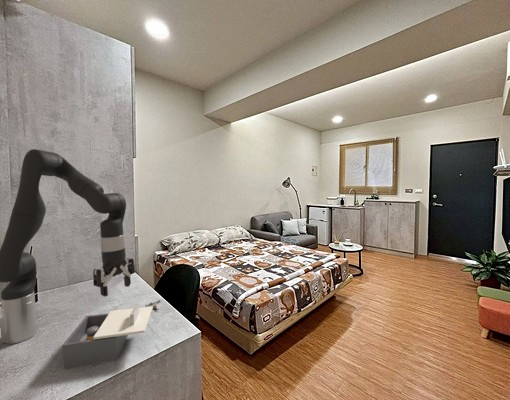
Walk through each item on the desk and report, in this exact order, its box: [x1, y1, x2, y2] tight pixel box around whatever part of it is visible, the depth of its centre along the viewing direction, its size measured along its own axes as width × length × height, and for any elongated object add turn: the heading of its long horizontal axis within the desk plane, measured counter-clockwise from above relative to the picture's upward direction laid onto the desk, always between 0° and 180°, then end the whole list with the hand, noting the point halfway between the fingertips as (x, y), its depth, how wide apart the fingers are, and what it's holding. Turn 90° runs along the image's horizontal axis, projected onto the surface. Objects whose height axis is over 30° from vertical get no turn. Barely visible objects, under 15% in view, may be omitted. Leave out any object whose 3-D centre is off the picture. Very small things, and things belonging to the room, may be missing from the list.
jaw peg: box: [87, 326, 99, 340], centre depth 89 cm, size 4×4×7 cm
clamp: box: [144, 299, 161, 311], centre depth 115 cm, size 15×2×10 cm
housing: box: [61, 312, 129, 369], centre depth 89 cm, size 16×18×8 cm
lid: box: [93, 303, 154, 340], centre depth 91 cm, size 16×17×5 cm
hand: (116, 290), depth 88 cm, fingers open, 8 cm apart
